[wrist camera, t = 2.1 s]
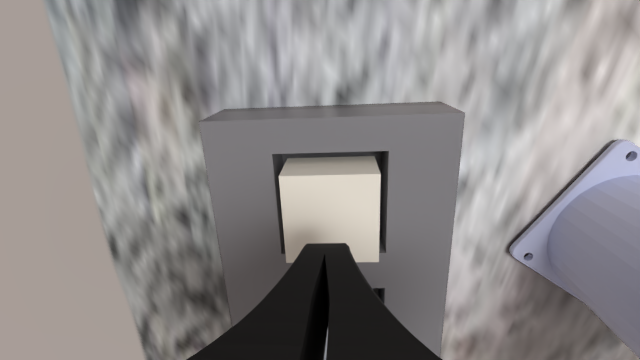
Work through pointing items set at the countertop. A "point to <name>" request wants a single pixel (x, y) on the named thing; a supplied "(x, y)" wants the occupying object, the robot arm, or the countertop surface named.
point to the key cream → (331, 204)
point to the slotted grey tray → (395, 197)
